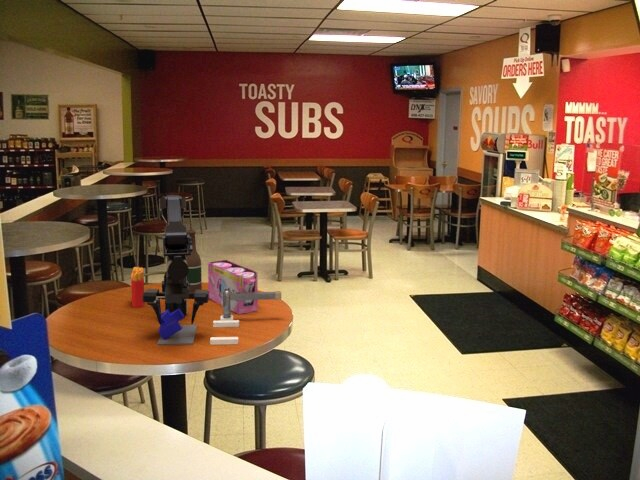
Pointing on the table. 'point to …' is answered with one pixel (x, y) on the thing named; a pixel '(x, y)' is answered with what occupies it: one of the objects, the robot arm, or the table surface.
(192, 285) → the beer bottle
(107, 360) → the table surface
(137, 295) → the french fries
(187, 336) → the mat
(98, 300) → the table surface
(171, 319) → the cable clip
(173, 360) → the table surface
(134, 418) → the table surface
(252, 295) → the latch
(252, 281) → the gum box
